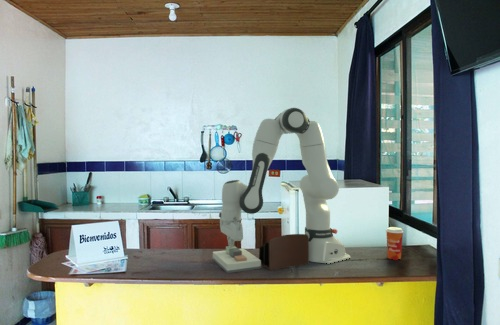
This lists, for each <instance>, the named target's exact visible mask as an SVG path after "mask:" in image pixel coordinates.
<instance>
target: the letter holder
mask: <svg viewBox="0 0 500 325" xmlns="http://www.w3.org/2000/svg"><path fill="white" fill-rule="evenodd" d="M258 253H259V254H258V259H260V260H261V267H263V268H265V269H266V270H268V271H273V270H279V269H287V268H292V267H293V268H294V267H299V266H305V265H309V264H310V261H309V260H308V258H309V237H308V235H306V234H305V233H303V234H302V233H293V234H283V235H279V236H276V237H272V238H270V239H268V242H267V241H266V243H264V244H263V245H261V246H259V249H258Z"/></svg>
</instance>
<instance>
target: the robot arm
mask: <svg viewBox="0 0 500 325" xmlns="http://www.w3.org/2000/svg"><path fill="white" fill-rule="evenodd" d="M257 128H258V129H257V131H256V133H255V137H254V140H253V145H252V153H251V156H252V157H251V158H252V169H251V173H250V176H249V181H248V185H247V184H244V183H243V182H242V181H240V180H239V179H233V180H232V179H231V180H228V181H226V182H225V183H223V185H222V190H221V203H222V206H221V211H220V212H219V213H218V217H219V228H220V233H222V234H224V235H226V238H227V245H228V246H230V247H234V246H235V242H240V241H243V239H244V232H243V231H244V229H243V223H241V220H242V212H244V213H246V214H248V215H249V214H250V215H253V214H256V213H258V212H259V211H261V209H262V208H263V207H264V206H263V205H264V198H263V197H264V196H263V187H264V184H265V180H266V177H267V173H268V170H269V169H270V166H271V164H272V163H273V160H274V157H275V156H276V153H277V150H278V146H279V143H280V140H281V137H282V136H283V135H284V134H285V135H287V134H295V135H296V136H297V138H298V140H299V148H300V154H301V163H302V165H303V166H304V168H305V170H306V172H307V174H305V175H304V176H302V177H301V179H300V181H299V188H300V190H301V193H302V197H303V202H304V203H303V204H304V209H305V227H304V234H306V235H308V237H309V258H308V260H309V262H312V263H322V264H326V263H327V264H326V265H328V264H329V265H330V263H331V264H334V262H335V263H338V261H339V262H343V261H345V260H346V259H347V260H350V259H351V255H350V254H348V253H346V249H345V244H344V243H343V242H341V241H340V240H339V239H337V238H336V237H335V236H334V234H335V235H336V234H337V233H338V230H337V229H336V228H331V211H330V208H329V206H328V204H327V200H333V199H334V198H335V197H337V195H338V193H339V191H340V190H339V189H340V187H339V185H340V184H339V183H338V181H337V180H336V179H335V177H334V175H333V173H332V170H331V167H330V165H329V162H328V159H327V153H326V146H325V139H324V136H323V132H322V128H321V126H320V124H319V122H317V121H314V120H310V119H309V118H308V116H307V115H306V113H305V112H304V111H303V110H302V109H300V108H298V107H290V108H287V109H284V110H283V111H282V112H280V113H278V115H277V116H276V117H275V118H264V119H262V121H261V122H260V125H259V127H257ZM349 258H350V259H349ZM342 260H343V261H342Z"/></svg>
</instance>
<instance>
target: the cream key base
mask: <svg viewBox="0 0 500 325" xmlns="http://www.w3.org/2000/svg"><path fill="white" fill-rule="evenodd" d="M239 249H240V250H241V251H242V255H244V256H245V257H247V260H246V261H238V262H237V261H236V260H235V259H234V258H232V257H231V256H230V254H229V255H228V254H227V253H226V249H225V250H219V251H217V250H216V251H212V260H213V262H215V263H216V264H217V265H218V266H219V267H220V268H221V269H223V270H224V272H226V273H227V274H231V273H239V272H246V271H251V270H252V271H253V270H261V269H262V265H261V260H260V259H259V257H258V256H255V255H254V254H252V253H251V252H249V251H248V250H246V249H245V248H239Z"/></svg>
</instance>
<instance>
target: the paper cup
mask: <svg viewBox="0 0 500 325" xmlns="http://www.w3.org/2000/svg"><path fill="white" fill-rule="evenodd" d="M385 233H386V251H387V252H386V253H387V259H388V260H391V259H393V260H392V261H399V260H398V259H400V260H401V258H402V248H403V236H404V235H403V233H405V232H404V230H403V228H401V227H396V226H390V227H389V226H388V227H387V228H386V230H385Z"/></svg>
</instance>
